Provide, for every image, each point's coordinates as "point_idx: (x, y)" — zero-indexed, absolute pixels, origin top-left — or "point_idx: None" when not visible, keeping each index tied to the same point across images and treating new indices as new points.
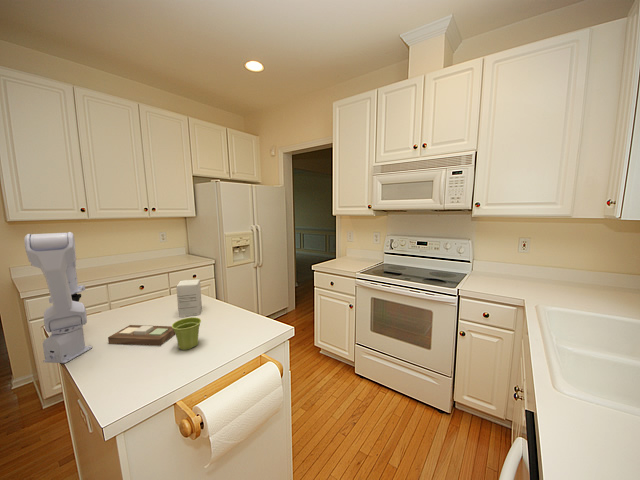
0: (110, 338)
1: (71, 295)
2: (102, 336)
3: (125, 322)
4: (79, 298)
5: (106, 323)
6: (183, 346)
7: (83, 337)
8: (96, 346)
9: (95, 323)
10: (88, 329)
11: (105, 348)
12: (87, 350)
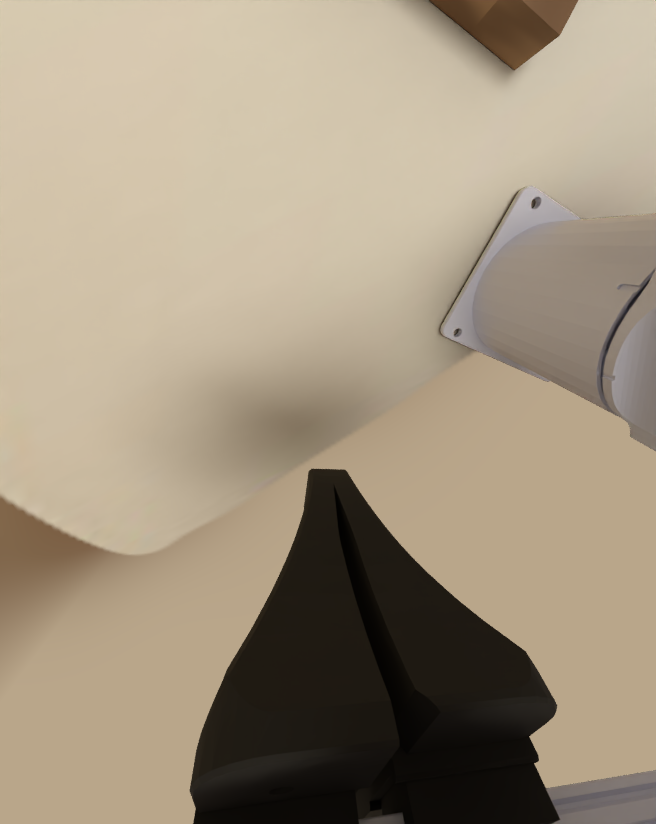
0: (571, 5)
1: (350, 817)
2: (344, 203)
3: (55, 89)
4: (277, 630)
5: (89, 291)
6: None
7: (626, 216)
8: (506, 169)
9: (92, 374)
10: (195, 369)
11: (587, 63)
12: (554, 202)
